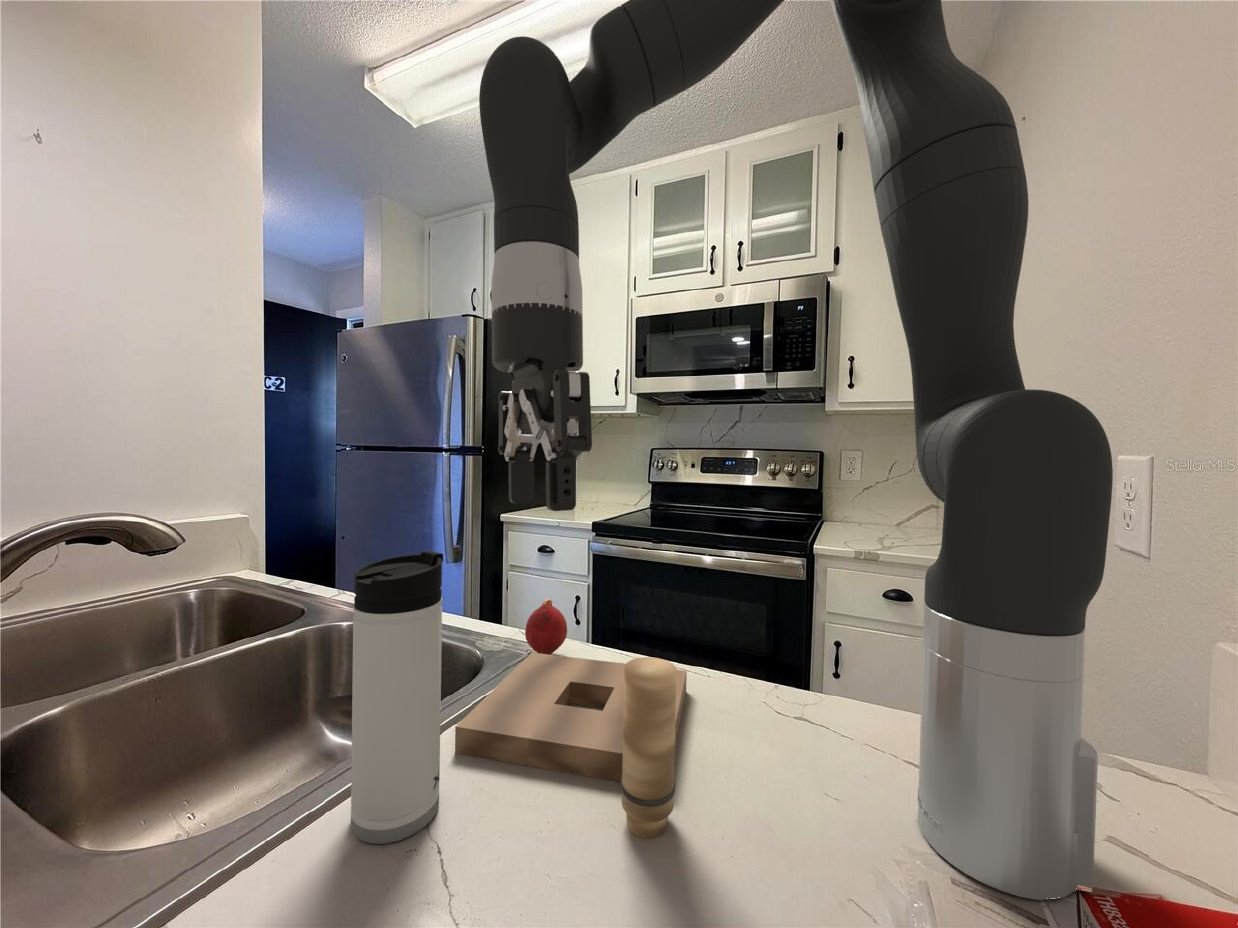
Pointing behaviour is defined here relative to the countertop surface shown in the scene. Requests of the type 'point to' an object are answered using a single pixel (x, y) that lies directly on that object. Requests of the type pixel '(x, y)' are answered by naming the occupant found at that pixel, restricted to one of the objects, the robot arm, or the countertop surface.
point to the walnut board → (556, 717)
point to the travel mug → (396, 696)
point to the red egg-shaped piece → (546, 629)
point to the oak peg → (648, 745)
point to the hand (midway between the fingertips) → (539, 506)
